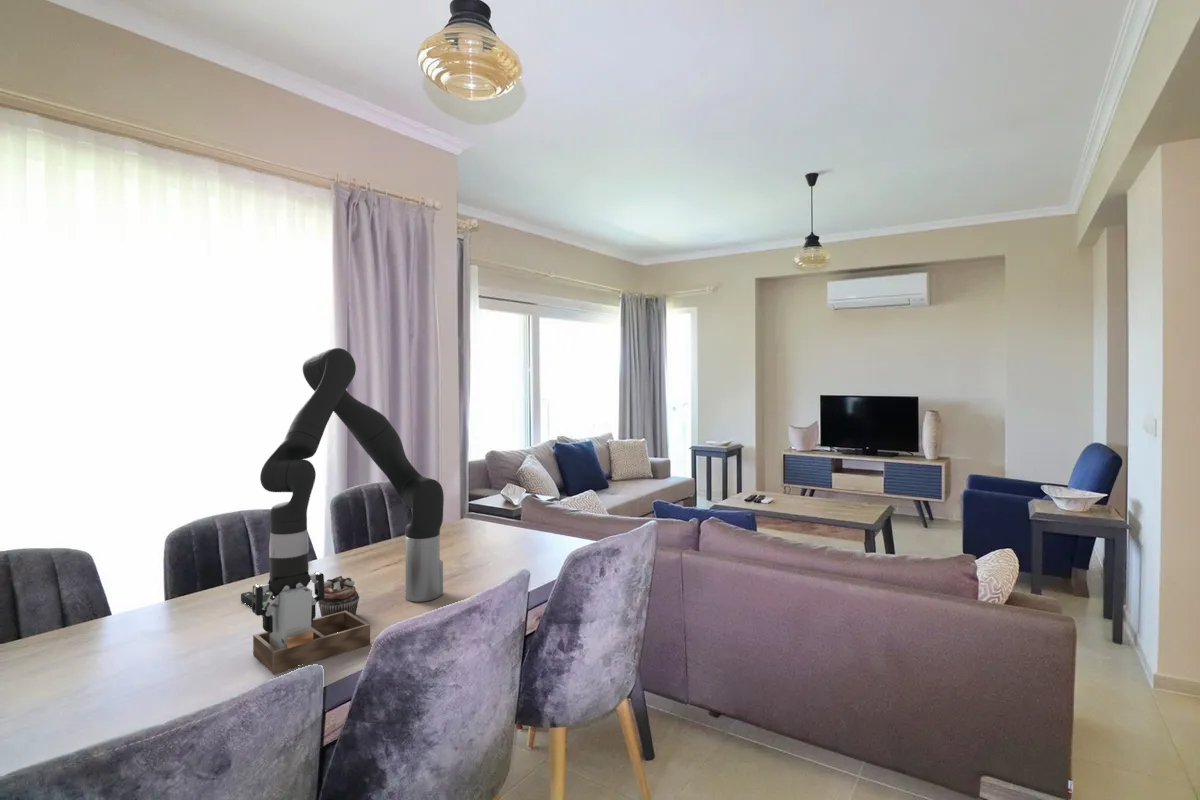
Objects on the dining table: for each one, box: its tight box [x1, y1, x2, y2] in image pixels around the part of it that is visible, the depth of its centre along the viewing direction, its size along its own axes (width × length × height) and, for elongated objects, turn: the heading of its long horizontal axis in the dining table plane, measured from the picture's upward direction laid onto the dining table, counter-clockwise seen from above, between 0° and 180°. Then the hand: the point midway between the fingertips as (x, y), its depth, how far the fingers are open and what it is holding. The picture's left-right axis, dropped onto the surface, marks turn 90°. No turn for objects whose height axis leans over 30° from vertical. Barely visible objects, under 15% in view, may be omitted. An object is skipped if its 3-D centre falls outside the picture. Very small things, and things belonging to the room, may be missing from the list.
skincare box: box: [269, 586, 313, 650], centre depth 133 cm, size 8×6×15 cm
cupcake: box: [317, 575, 360, 617], centre depth 155 cm, size 10×10×10 cm
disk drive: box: [240, 589, 271, 608], centre depth 166 cm, size 10×3×15 cm
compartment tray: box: [252, 611, 371, 675], centre depth 136 cm, size 20×13×6 cm, turn 136°
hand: (289, 626), depth 133 cm, fingers open, 8 cm apart
